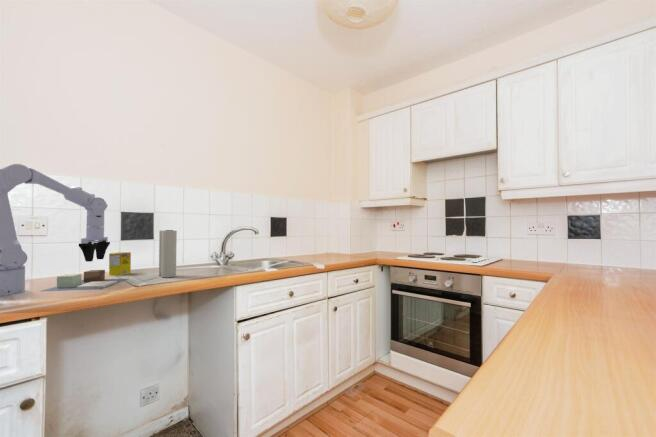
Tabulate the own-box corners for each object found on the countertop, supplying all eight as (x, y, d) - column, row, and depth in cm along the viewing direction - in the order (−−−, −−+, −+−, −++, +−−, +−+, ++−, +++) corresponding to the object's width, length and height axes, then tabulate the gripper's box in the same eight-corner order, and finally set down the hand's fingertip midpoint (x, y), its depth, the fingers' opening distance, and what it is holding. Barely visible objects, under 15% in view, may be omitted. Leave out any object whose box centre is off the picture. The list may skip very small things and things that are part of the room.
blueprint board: (101, 292, 106) (102, 287, 106) (40, 294, 102) (40, 289, 102) (130, 280, 126) (130, 277, 126) (79, 282, 123) (79, 278, 123)
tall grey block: (177, 276, 137) (178, 230, 137) (163, 278, 133) (163, 230, 133) (173, 274, 142) (173, 229, 142) (158, 276, 138) (159, 230, 138)
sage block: (72, 287, 109) (72, 276, 109) (56, 287, 108) (57, 276, 108) (81, 284, 114) (81, 273, 114) (66, 284, 113) (66, 274, 113)
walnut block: (97, 281, 119) (97, 271, 119) (83, 282, 118) (83, 272, 118) (104, 279, 124) (104, 269, 124) (91, 279, 123) (91, 270, 123)
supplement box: (130, 275, 140) (131, 252, 140) (120, 277, 134) (121, 253, 134) (119, 275, 141) (119, 252, 141) (108, 277, 135) (109, 253, 135)
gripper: (95, 227, 115) (95, 262, 115) (115, 226, 130) (115, 258, 129) (75, 227, 114) (74, 262, 114) (97, 226, 128) (96, 258, 128)
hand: (94, 260), depth 121 cm, fingers open, 7 cm apart
